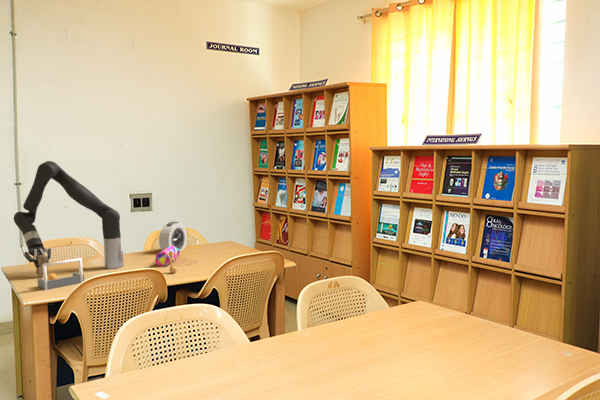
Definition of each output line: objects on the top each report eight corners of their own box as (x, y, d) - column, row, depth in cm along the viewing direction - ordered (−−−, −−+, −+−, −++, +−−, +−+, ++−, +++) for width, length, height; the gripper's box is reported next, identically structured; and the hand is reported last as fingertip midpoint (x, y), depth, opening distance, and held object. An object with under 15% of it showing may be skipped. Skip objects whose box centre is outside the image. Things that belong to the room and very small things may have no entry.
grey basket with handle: (76, 279, 259) (75, 255, 258) (84, 282, 253) (83, 257, 252) (36, 286, 245) (35, 261, 244) (43, 290, 239) (42, 264, 237)
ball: (55, 279, 259) (54, 272, 259) (58, 280, 256) (57, 273, 256) (47, 281, 256) (46, 273, 256) (50, 282, 253) (49, 274, 253)
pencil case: (170, 267, 286) (170, 251, 285) (154, 267, 286) (153, 251, 285) (180, 259, 308) (180, 244, 307) (165, 259, 308) (165, 244, 307)
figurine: (167, 274, 267) (166, 252, 266) (163, 272, 271) (162, 251, 270) (182, 272, 272) (181, 250, 271) (177, 270, 277) (176, 249, 276)
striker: (44, 272, 268) (43, 254, 268) (47, 274, 266) (46, 255, 265) (36, 274, 266) (35, 255, 265) (39, 275, 263) (38, 256, 262)
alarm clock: (169, 254, 322) (168, 224, 320) (159, 253, 325) (158, 223, 323) (187, 248, 342) (186, 220, 340) (178, 247, 344) (177, 219, 343)
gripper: (20, 238, 264) (30, 264, 257) (48, 235, 274) (58, 260, 267) (17, 247, 268) (27, 272, 261) (45, 243, 278) (55, 268, 271)
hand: (42, 266), depth 264 cm, fingers closed on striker, 4 cm apart
